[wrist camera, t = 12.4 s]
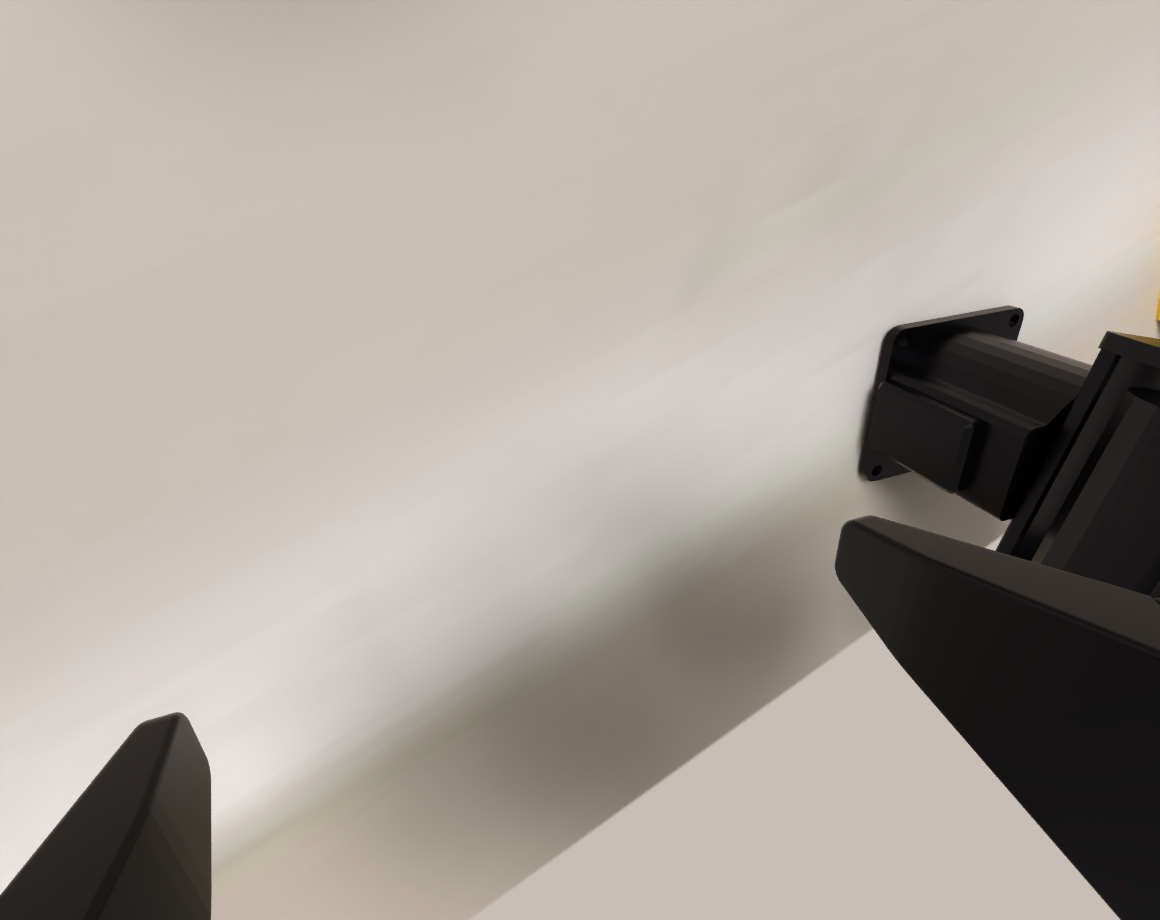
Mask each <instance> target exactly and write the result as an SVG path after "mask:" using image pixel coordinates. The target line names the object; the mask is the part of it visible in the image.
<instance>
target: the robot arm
mask: <svg viewBox="0 0 1160 920" xmlns="http://www.w3.org/2000/svg"><path fill="white" fill-rule="evenodd" d="M1023 317H1024V313H1023V310H1022V309H1021V308H1017V307H1014V306H1003V307H998V308H992V309H987V310H981V311H976V312H970V313H965V314H959V315H954V316H948V317H943V318H937V319H931V320H926V321H920V322H915V323H909V324H904V325H898V326H896V327H894V328H892V329H891V330H890V331H889V333H888V334H887V336H886V339H885V343H884V348H883V353H882V358H881V363H880V368H879V374H878V379H877V384H876V389H875V394H874V399H873V405H872V410H871V415H870V420H869V425H868V430H867V436H866V441H865V446H864V451H863V456H862V461H861V466H860V473H861V475H862V476H863V477H865V478H866V479H868V480H870V481H877V480H881V479H884V478H888V477H892V476H896V475H899V474H903V473H907V472H911V471H912V472H914V473H915V474H917V475H919V476H920V477H922V478H924V479H926V480H927V481H929V482H931V483H932V484H934V485H936V486H937V487H939V488H941V489H943V490H944V491H946V492H948V493H951V494H953V493H955V494H956V495H958V496H960V497H962V498H963V499H965V500H967V501H968V502H970V503H972V504H973V505H975V506H977V507H979V508H980V509H982V510H984V511H985V512H987V513H989V514H991V515H992V516H994V517H996V518H997V519H999V520H1001V521H1005V520H1008V519H1010V520H1011V522H1010V524H1009V526H1008V528H1007V530H1006V532H1005V534H1004V535H1003V537H1002V539H1001V541H1000V543H999V545H998V547H997V549H996V551H993V550H990V549H986V548H983V547H979V546H976V545H972V544H969V543H965V542H962V541H958V540H955V539H952V538H948V537H945V536H941V535H938V534H934V533H931V532H927V531H924V530H920V529H917V528H914V527H910V526H907V525H903V524H900V523H896V522H893V521H889V520H886V519H882V518H879V517H875V516H863V517H859V518H856V519H852V520H849V521H847V522H846V523H845V524H844V525H843V527H842V529H841V533H840V539H839V544H838V549H837V555H836V560H835V571H836V574H837V577H838V579H839V581H840V582H841V584H842V585H843V586H844V588H845V589H846V591H847V592H848V593H849V595H850V596H851V598H852V599H853V600H854V602H855V603H856V605H857V606H858V607H859V609H860V610H861V612H862V613H863V614H864V616H865V617H866V619H867V620H868V621H869V623H870V624H871V626H872V627H873V628H874V630H875V631H876V633H877V634H878V635H879V637H880V638H881V639H882V641H883V642H884V644H885V645H886V647H887V648H888V649H889V651H890V652H891V653H892V655H893V656H894V657H895V659H896V660H897V661H898V662H899V663H900V665H901V666H902V667H903V669H904V670H905V671H906V672H907V673H908V675H909V676H910V677H911V678H912V679H913V680H914V682H915V683H916V684H917V685H918V686H919V687H920V688H921V690H922V691H923V692H924V693H925V694H926V695H927V696H928V697H929V699H930V700H931V701H932V702H933V703H934V705H936V707H937V708H938V709H939V710H940V711H941V713H942V714H943V715H944V716H945V717H946V718H947V720H948V721H949V722H950V723H951V724H952V725H953V727H954V728H955V729H956V730H957V731H958V732H959V733H960V735H961V736H962V737H963V738H964V739H965V740H966V742H967V743H968V744H969V745H970V746H971V747H972V749H973V750H974V751H975V752H976V753H977V754H978V755H979V757H980V758H981V759H982V760H983V761H984V762H985V763H986V765H987V766H988V767H989V768H990V769H991V771H992V772H993V773H994V774H995V775H996V776H997V777H998V779H999V780H1000V781H1001V782H1002V783H1003V784H1004V786H1005V787H1006V788H1007V789H1008V790H1009V791H1010V792H1011V794H1012V795H1013V796H1014V797H1015V798H1016V799H1017V801H1018V802H1019V803H1020V804H1021V805H1022V806H1023V808H1025V810H1026V811H1027V812H1028V813H1029V814H1030V816H1031V817H1032V818H1033V819H1034V820H1035V821H1036V822H1037V824H1038V825H1039V826H1040V827H1041V828H1042V829H1043V831H1044V832H1045V833H1046V834H1047V835H1048V836H1049V837H1050V839H1051V840H1052V841H1053V842H1054V843H1055V844H1056V846H1057V847H1058V848H1059V849H1060V850H1061V851H1062V853H1063V854H1064V855H1065V856H1066V857H1067V858H1068V860H1069V861H1070V862H1071V863H1072V864H1073V865H1074V866H1075V868H1076V869H1077V870H1078V871H1079V872H1080V873H1081V875H1082V876H1083V877H1084V878H1085V879H1086V880H1087V881H1088V883H1089V884H1090V885H1091V886H1092V887H1093V888H1094V889H1095V891H1096V892H1097V893H1098V894H1099V895H1100V896H1101V898H1102V899H1103V900H1104V901H1105V902H1106V903H1107V905H1108V906H1109V907H1110V908H1111V909H1112V910H1113V912H1114V913H1115V914H1116V915H1117V916H1118V917H1119V918H1120V920H1160V339H1155V338H1149V337H1143V336H1136V335H1130V334H1124V333H1117V332H1111V331H1107V332H1106V334H1105V336H1104V337H1103V339H1102V341H1101V343H1100V345H1099V347H1098V348H1100V349H1101V350H1100V352H1099V354H1098V356H1097V358H1096V360H1095V362H1094V364H1093V365H1089V364H1086V363H1083V362H1080V361H1077V360H1074V359H1071V358H1068V357H1065V356H1062V355H1058V354H1055V353H1052V352H1049V351H1046V350H1043V349H1040V348H1037V347H1034V346H1031V345H1028V344H1024V343H1021V342H1018V341H1017V338H1018V335H1019V331H1020V328H1021V325H1022V321H1023ZM900 338H901V339H900ZM899 339H900V341H899ZM0 920H211V774H210V767H209V763H208V760H207V757H206V755H205V753H204V751H203V749H202V747H201V744H200V742H199V740H198V738H197V736H196V734H195V732H194V730H193V728H192V726H191V724H190V721H189V720H188V718H187V717H186V716H185V715H184V714H183V713H178V712H176V713H172V714H168V715H165V716H161V717H158V718H154V719H151V720H147V721H145V722H143V723H141V724H140V725H138V726H137V727H136V728H135V729H134V730H133V732H132V733H131V734H130V735H129V737H128V738H127V739H126V740H125V742H124V743H123V744H122V745H121V746H120V748H119V749H118V750H117V751H116V753H115V754H114V755H113V756H112V758H111V759H110V760H109V761H108V763H107V764H106V765H105V766H104V767H103V769H102V770H101V771H100V772H99V774H98V775H97V776H96V777H95V779H94V780H93V781H92V782H91V784H90V785H89V786H88V787H87V789H86V790H85V791H84V792H83V793H82V795H81V796H80V797H79V798H78V800H77V801H76V802H75V803H74V805H73V806H72V807H71V808H70V810H69V811H68V812H67V813H66V814H65V816H64V817H63V818H62V819H61V821H60V822H59V823H58V824H57V826H56V827H55V828H54V829H53V831H52V832H51V833H50V834H49V835H48V837H47V838H46V839H45V840H44V842H43V843H42V844H41V845H40V847H39V848H38V849H37V850H36V852H35V853H34V854H33V855H32V856H31V858H30V859H29V860H28V861H27V863H26V864H25V865H24V866H23V868H22V869H21V870H20V871H19V873H18V874H17V875H16V876H15V877H14V879H13V880H12V881H11V882H10V884H9V885H8V886H7V887H6V889H5V890H4V891H3V892H2V894H1V895H0Z"/></svg>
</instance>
